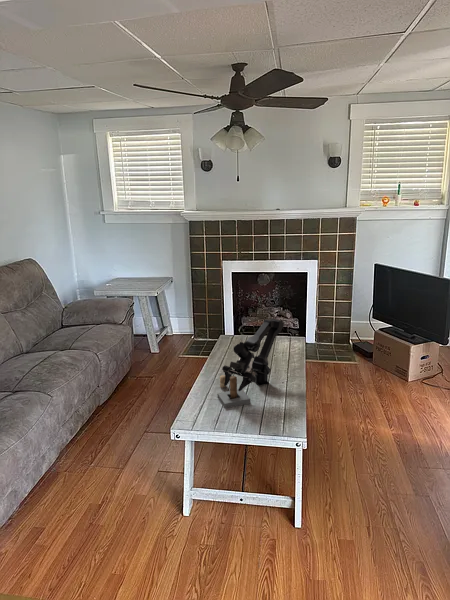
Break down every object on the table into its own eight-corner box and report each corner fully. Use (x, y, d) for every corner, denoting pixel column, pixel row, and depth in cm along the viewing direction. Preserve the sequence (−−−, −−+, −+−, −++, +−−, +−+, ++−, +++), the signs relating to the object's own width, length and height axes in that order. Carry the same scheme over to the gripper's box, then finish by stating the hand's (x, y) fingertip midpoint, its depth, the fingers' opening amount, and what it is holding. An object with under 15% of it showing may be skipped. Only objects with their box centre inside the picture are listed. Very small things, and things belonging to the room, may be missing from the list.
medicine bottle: (252, 367, 261) (252, 349, 258) (249, 372, 255) (249, 353, 251) (241, 366, 263) (240, 348, 260) (238, 370, 256) (238, 352, 253)
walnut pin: (233, 397, 224) (233, 375, 221) (238, 400, 221) (238, 377, 218) (228, 400, 222) (228, 377, 218) (233, 402, 219) (233, 379, 216)
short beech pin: (225, 384, 239) (225, 374, 238) (227, 387, 236) (227, 377, 234) (219, 385, 238) (218, 375, 237) (221, 388, 235) (221, 378, 233)
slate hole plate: (242, 392, 229) (241, 388, 229) (250, 403, 218) (250, 398, 218) (217, 397, 225) (217, 393, 224) (224, 408, 214) (224, 403, 213)
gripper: (223, 351, 224) (210, 377, 219) (252, 359, 212) (239, 387, 207) (233, 360, 232) (220, 385, 226) (261, 368, 220) (249, 395, 215)
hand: (231, 388), depth 219 cm, fingers open, 9 cm apart
